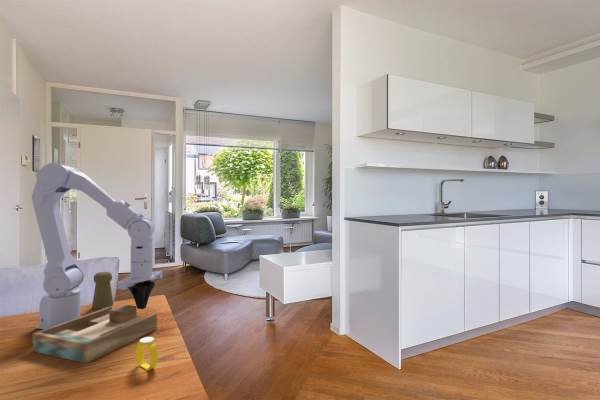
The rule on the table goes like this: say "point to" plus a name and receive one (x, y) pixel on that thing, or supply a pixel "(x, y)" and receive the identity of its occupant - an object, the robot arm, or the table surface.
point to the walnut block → (122, 313)
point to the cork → (102, 290)
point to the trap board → (90, 336)
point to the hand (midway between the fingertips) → (141, 308)
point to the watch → (153, 352)
